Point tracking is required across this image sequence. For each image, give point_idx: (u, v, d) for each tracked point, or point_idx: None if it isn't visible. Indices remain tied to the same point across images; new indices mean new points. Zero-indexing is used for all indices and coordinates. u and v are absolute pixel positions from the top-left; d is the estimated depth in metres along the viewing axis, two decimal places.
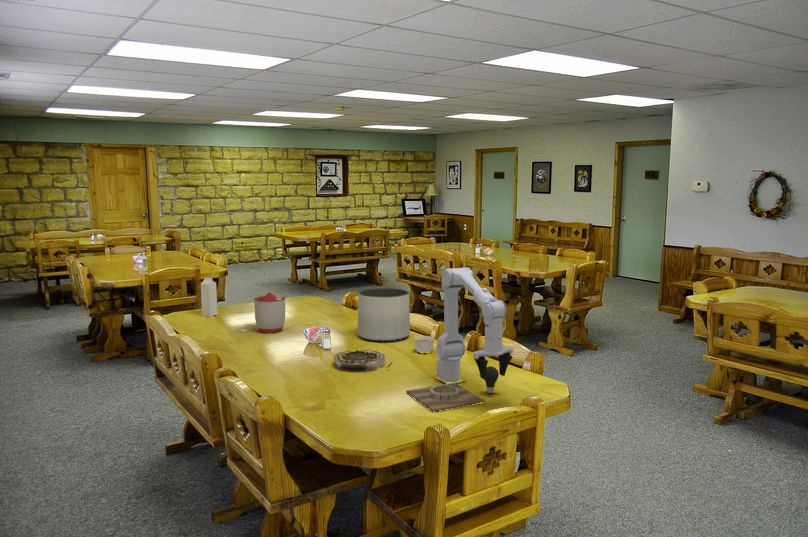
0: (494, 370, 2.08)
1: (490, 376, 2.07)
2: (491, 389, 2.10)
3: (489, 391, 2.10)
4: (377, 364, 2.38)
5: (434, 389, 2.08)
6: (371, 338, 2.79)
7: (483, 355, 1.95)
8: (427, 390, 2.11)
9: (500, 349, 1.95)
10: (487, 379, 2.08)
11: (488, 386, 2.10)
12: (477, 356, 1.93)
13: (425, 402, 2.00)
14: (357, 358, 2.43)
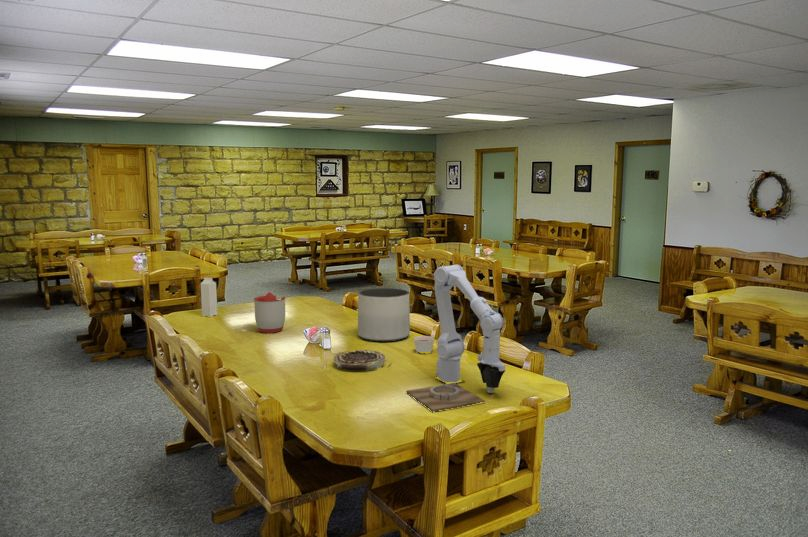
0: None
1: (490, 376, 2.07)
2: (491, 389, 2.10)
3: (489, 391, 2.10)
4: (377, 364, 2.38)
5: (434, 389, 2.08)
6: (371, 338, 2.79)
7: None
8: (427, 390, 2.11)
9: (486, 359, 2.07)
10: (487, 379, 2.08)
11: (488, 386, 2.10)
12: (478, 358, 2.15)
13: (425, 402, 2.00)
14: (357, 358, 2.43)
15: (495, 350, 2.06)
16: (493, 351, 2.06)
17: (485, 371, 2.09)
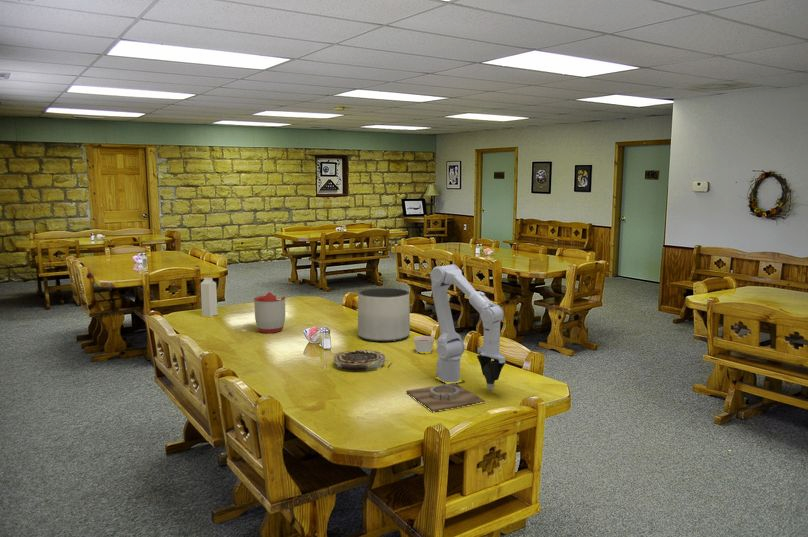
0: None
1: (490, 372, 2.07)
2: (491, 385, 2.09)
3: (489, 388, 2.10)
4: (377, 364, 2.38)
5: (434, 389, 2.08)
6: (371, 338, 2.79)
7: None
8: (427, 390, 2.11)
9: (486, 351, 2.07)
10: (487, 375, 2.08)
11: (488, 382, 2.09)
12: (478, 350, 2.15)
13: (425, 402, 2.00)
14: (357, 358, 2.43)
15: (495, 342, 2.06)
16: (493, 343, 2.06)
17: (485, 367, 2.09)
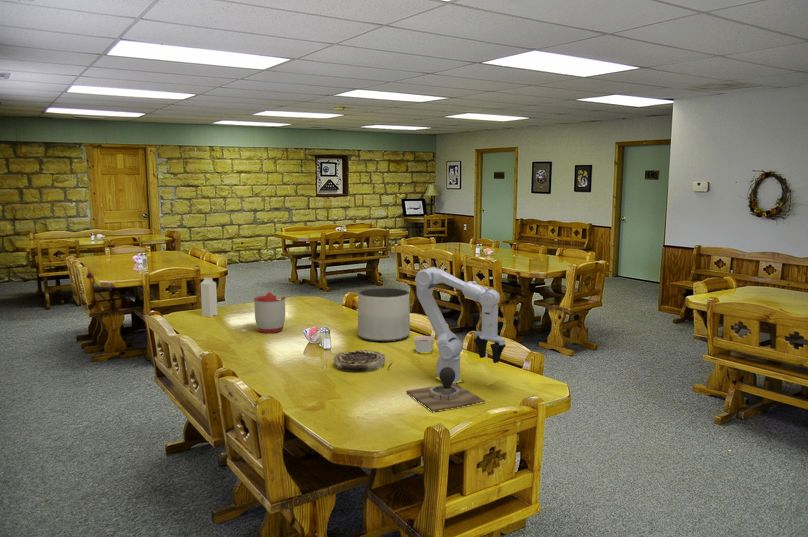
0: (450, 371, 2.04)
1: (445, 377, 2.03)
2: (447, 390, 2.05)
3: (445, 392, 2.06)
4: (377, 364, 2.37)
5: (434, 389, 2.08)
6: (371, 338, 2.79)
7: None
8: (427, 390, 2.11)
9: (485, 335, 2.13)
10: (442, 380, 2.04)
11: (444, 387, 2.05)
12: (475, 334, 2.20)
13: (425, 402, 2.00)
14: (357, 359, 2.43)
15: (494, 325, 2.12)
16: (492, 326, 2.12)
17: (441, 372, 2.05)
